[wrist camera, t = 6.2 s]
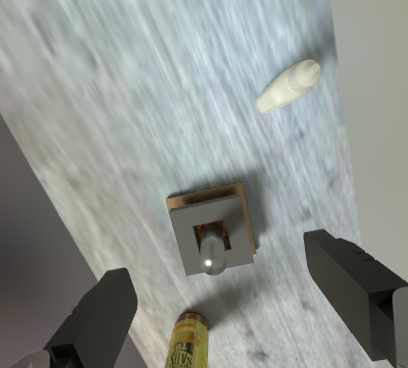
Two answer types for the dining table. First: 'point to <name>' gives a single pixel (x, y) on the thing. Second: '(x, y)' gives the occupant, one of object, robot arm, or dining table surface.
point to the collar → (206, 213)
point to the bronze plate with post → (213, 226)
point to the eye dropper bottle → (289, 86)
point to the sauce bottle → (188, 343)
